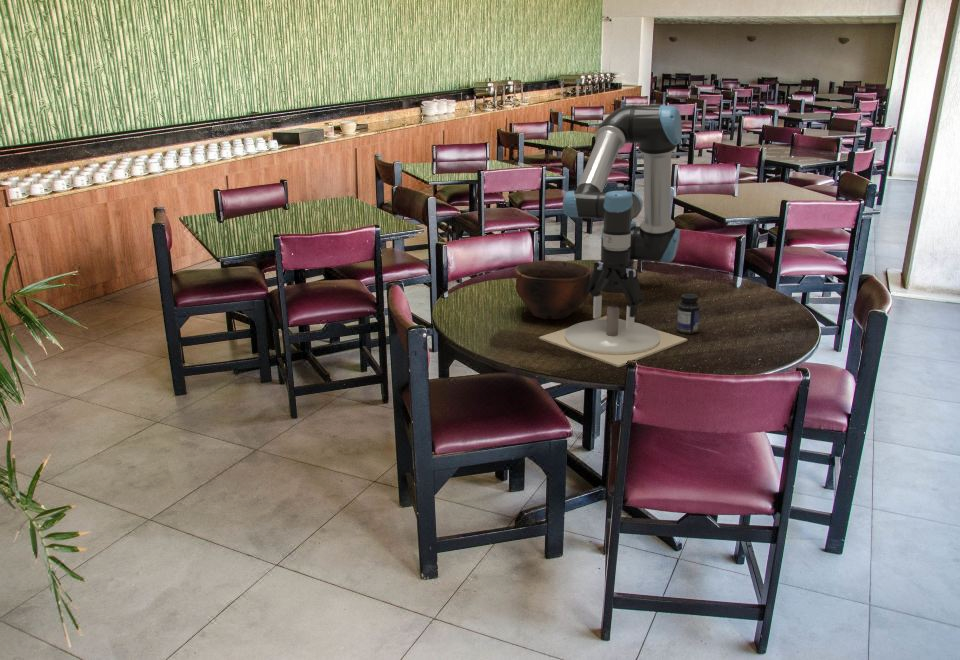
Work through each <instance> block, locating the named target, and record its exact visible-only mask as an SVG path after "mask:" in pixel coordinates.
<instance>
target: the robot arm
mask: <svg viewBox="0 0 960 660" xmlns="http://www.w3.org/2000/svg"><path fill="white" fill-rule="evenodd" d="M682 122H683V121H682V117H681V113H680V110H679V109H678V107H676V106H674V105H665V104H659V105H658V104H656V105H655V104H653V105H650V104H649V105H647V104H645V105H644V104H643V105H641V104H639V105H635V104H630V105H625V106H622V107H619V108H617V109H616V110H613V112H611V113H610V114H609V115H608V116H606V118H605V119H604V120H602V122H601V123H600V125H599V126H598V128H597V130H596V133H595V135H594V136H595V137H594V138H595V143H594V145H593V148H592V151H591V153H590V154H589V158H588V160H587V163H586V165H585V167H584V170H583V172H582V175H581V177H580V180H579V182H578V184H577V187H576V189H575V190H567V191H566V192H565V193H564V195H563V199H562V210H563V213H564V215H565V216H566V217H570V218H571V217H572V218H578V219H579V218H580V219H583V218H584V219H599V220H603V227H602V229H601V237H600V239H601V240H600V242H601V245H600V261H595V262H594V264H593V271H592V273H591V275H590V281H589V284H588V287H587V292H588V293H589V294H590V296H591V306H592V309H593V310H592V311H593V312H592V318H593V319H597V318H601V317H602V303H603V295H602V291H603V292H604V291H605V292H612V293H623V294H624V297H625V298H626V301H627V302H628V304H627V305H626V319H625V321H626V328H631V327H634V322H635V318H636V317H637V315H638V313H637V312H638V306H641V305H644V299H643V293H642V291H641V286H640V282H639V279H638V274H639V273H638V272H639V271H638V269H637V268H635V261H644V262H645V261H646V262H647V261H648V262H657V263H671V262H673V260H675V257H676V254H677V251H678V247H679V243H680V238H681V229H679V228H677V227H676V223H675V221H674V220H673V219H672V218H671V210H672V209H671V204H672V203H671V202H672V201H671V197H672V196H671V194H672V193H671V191H672V188H671V187H672V183H671V182H672V180H671V179H672V153H673V152H674V151H675V150H676V149H677V145H679V144H680V143H681V140H682V136H683V135H682V130H683V125H682V124H683V123H682ZM625 144H638V151H639V152H640V153H641V154H642V155H643V200H642V198H641V196H640V195H639V194H638V193H637V192H633V191H627V190H612V191H607V192H603V190H604V188H605V187H606V184H607V181H608V179H609V175H610V173H611V171H612V168H613V166H614V164H615V161H616V157H617V156H618V154H619V151H620V150H621V149H622V148H623V147H624V146H625ZM643 203H644V204H643ZM643 205H644V206H643ZM643 207H644V212H643V213H644V220H642V221H641V222H640V224H639V226H638V225H637V223H636V221H634V220H633V219H635V218H637V217H638V216H639V214H640V213H641V211H642V209H643Z"/></svg>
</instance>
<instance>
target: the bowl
mask: <svg viewBox="0 0 960 660" xmlns="http://www.w3.org/2000/svg"><path fill="white" fill-rule="evenodd" d="M514 272H515V274H516V275H515V276H516V278H515V289H516V293H517V295H518V296H519V298H520V299H521V301H523V303H524V305H525V306H526V307H527V308H528V310H529V311H530V312H531V314H532V315H533V316H534V317H536V318H539V319H545V320H548V319H551V320H559V319H561V320H562V319H564V318H568V317H569V316H571V315H572V314H573V312H574V311H575V310H576V309H578V308H579V307H580V305H581V304H583V302H585V300H586V299H587V298H588V297H589V295H590V293H588V292H587V287H588V284H589V282H590V279H591V276H592V274H593V271H592V269H591V267H588V266H586V265H583V264H580V263H576V262H572V261H564V260H537V261H529V262H523V263H520V264H518V265H516V266H515V267H514Z"/></svg>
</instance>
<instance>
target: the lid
mask: <svg viewBox="0 0 960 660" xmlns="http://www.w3.org/2000/svg"><path fill="white" fill-rule="evenodd" d="M606 316H607V320H594V319H591V320H592V321H591V320H585V321H582V322H579V323H575V324H573V325H571V326H569V327H567V328H568V329H567V330H566V331H565V339H566V341H567V342H568V343H569V344H570V345H572V346H574V347H576V348H578V349H581V350H584V351H588V352H592V353H599V354H608V355H627V354H636V353H642V352H646V351H649V350H651V349H653V348H655V347H657V346H658V344H659V343H660V335H659V333H658V332H657V331H656V330H657V329H655V328H653V327H651V326H649V325H646V324H642V323H639V322H635V321H634V327H631V328H626V320H625V321H623V320H624V319H621V320H619V319H620V307H619V306H616V305H610V306H607V307H606ZM654 329H655V330H654Z"/></svg>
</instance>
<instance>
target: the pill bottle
mask: <svg viewBox="0 0 960 660" xmlns="http://www.w3.org/2000/svg"><path fill="white" fill-rule="evenodd" d="M698 300H699V295H697V294H693V293H684V294H682V295H681V297H680V301H681V302H679V303H678V307H677V319H676V320H677V321H676V331H677V332H679V333H680V334H683V335H695V334H696V333H698V332H699V320H700V304H699V303H698Z"/></svg>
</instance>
